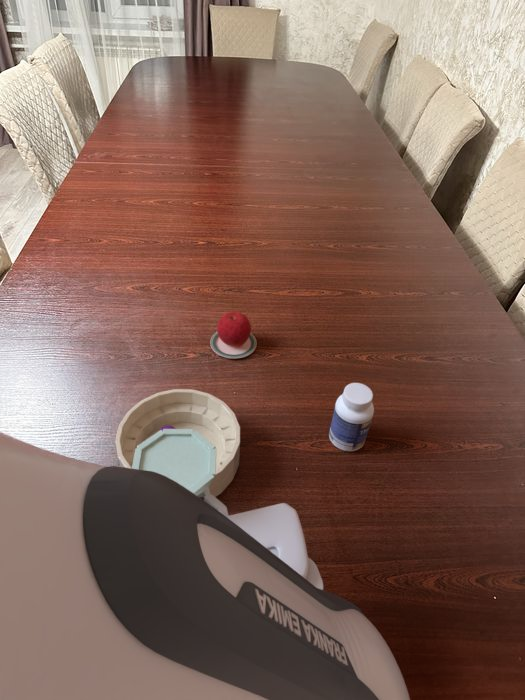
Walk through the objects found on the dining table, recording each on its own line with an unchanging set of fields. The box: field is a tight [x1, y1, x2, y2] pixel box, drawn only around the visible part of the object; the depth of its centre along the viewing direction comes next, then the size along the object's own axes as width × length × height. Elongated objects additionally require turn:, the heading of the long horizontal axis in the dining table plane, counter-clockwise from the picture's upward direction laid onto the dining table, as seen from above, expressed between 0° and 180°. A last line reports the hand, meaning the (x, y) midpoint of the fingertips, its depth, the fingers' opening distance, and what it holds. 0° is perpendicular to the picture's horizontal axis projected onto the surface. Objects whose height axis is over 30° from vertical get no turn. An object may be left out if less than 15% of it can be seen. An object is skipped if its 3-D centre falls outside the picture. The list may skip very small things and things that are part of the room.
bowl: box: [114, 388, 241, 498], centre depth 71 cm, size 16×16×6 cm
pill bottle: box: [328, 382, 375, 452], centre depth 74 cm, size 5×5×10 cm
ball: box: [159, 426, 176, 431], centre depth 73 cm, size 3×3×3 cm
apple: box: [209, 311, 257, 360], centre depth 89 cm, size 8×8×6 cm
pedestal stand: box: [132, 429, 217, 496], centre depth 49 cm, size 7×7×11 cm
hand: (176, 490), depth 50 cm, fingers closed on pedestal stand, 3 cm apart
